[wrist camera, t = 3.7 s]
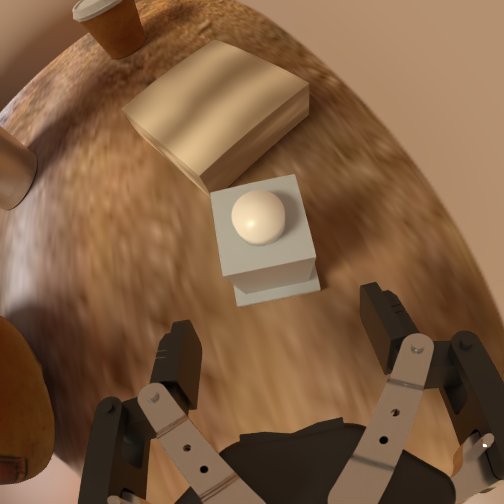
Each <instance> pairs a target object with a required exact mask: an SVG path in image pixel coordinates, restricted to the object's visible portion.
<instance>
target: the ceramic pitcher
mask: <svg viewBox="0 0 504 504" xmlns="http://www.w3.org/2000/svg"><path fill="white" fill-rule="evenodd" d="M42 374H43V367H42V365H41V363H40V362H39V361H38V359H37V358H36V356H35V354H34V352H33V351H32V349H31V348H30V346H29V344H28V343H27V341H26V340H25V338H24V337H23V336H22V334H21V333H20V332H19V331H18V330H17V329H16V328H15V327H14V326H13V325H12V324H11V323H10V322H9V321H8V320H7V319H5V318H3V317H1V316H0V485H5V484H14V483H19V482H23V481H26V480H28V479H31V478H33V477H35V476H36V475H38V474H39V473H40V472H42V471H43V470H44V469H45V468H46V467H47V465H48V463H49V461H50V460H51V457H52V454H53V450H54V445H55V427H54V425H55V423H54V422H55V420H54V413H53V410H52V406H51V401H50V397H49V393H48V390H47V387H46V384H45V382H44V378H43V375H42Z"/></svg>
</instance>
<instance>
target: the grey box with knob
mask: <svg viewBox="0 0 504 504" xmlns="http://www.w3.org/2000/svg"><path fill="white" fill-rule="evenodd" d="M210 195H211V202H212V209H213V216H214V223H215V229H216V236H217V242H218V249H219V255H220V262H221V268H222V274H223V277H224V278H226V279H227V280H228V281H229V282H231V283H232V284H233V285H234V291H235V296H236V302H237V307H240V308H241V307H246V306H251V305H256V304H262V303H267V302H272V301H277V300H281V299H286V298H291V297H296V296H300V295H305V294H310V293H314V292H319V291H320V290H321V289H320V284H319V280H318V275H317V271H316V267H315V260H316V253H315V249H314V245H313V241H312V237H311V233H310V229H309V225H308V221H307V217H306V214H305V210H304V206H303V202H302V199H301V195H300V191H299V188H298V184H297V181H296V177H295V174H292V175H287V176H282V177H277V178H273V179H268V180H263V181H259V182H254V183H249V184H245V185H241V186H236V187H232V188H228V189H223V190H219V191H215V192H211V193H210Z"/></svg>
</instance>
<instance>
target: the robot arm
mask: <svg viewBox="0 0 504 504" xmlns="http://www.w3.org/2000/svg"><path fill="white" fill-rule="evenodd" d="M36 168H37V157H36V155H35V154H34V153H33V152H31V151H30V150H29V149H28V148H26V147H25V146H24V145H23V144H22V143H20V142H19V141H18V140H17V139H16V138H14V137H13V136H12V135H11V134H9V133H8V132H7V131H6V130H5V129H3V128H2V127H1V126H0V208H2V209H4V210H10V209H12V208H14V207H15V206H16V205H17V204H18V203H19V202H20V201H21V200H22V199H23V197H24V196H25V194H26V193H27V191H28V190H29V188H30V186H31V184H32V181H33V179H34V176H35V173H36ZM360 316H361V320H362V323H363V325H364V327H365V330H366V332H367V334H368V336H369V339H370V341H371V343H372V346H373V348H374V350H375V353H376V355H377V357H378V360H379V362H380V364H381V367H382V369H383V372H384V374H385V375H387V374H390V373H391V376H390V378H389V379H388V380H387V382H386V385H385V387H384V390H383V392H382V394H381V397H380V399H379V401H378V404H377V406H376V408H375V411H374V413H373V415H372V417H371V419H370V421H369V423H368V426H367V427H366V426H362V425H359V424H353V423H344V422H343V418H342V417H340V418H336V419H332V420H327V421H323V422H318V423H315V424H313V425H311V426H309V427H306V428H304V429H302V430H299V431H297V432H294V433H274V432H259V433H250V434H241V435H240V441H239V442H236V443H234V444H232V445H230V446H228V447H226V448H225V449H224V450H222V451H221V452H220V453H218V452H217V451H216V450H215V449H214V447H213V446H212V445H211V444H210V443H209V442H208V441H207V439H206V438H205V437H204V436H203V435H202V433H201V432H200V431H199V430H198V429H197V427H196V426H195V425H194V424H193V422H192V421H191V420H190V419H189V417H188V411H189V410H194V409H197V400H198V390H199V380H200V370H201V361H202V346H201V342H200V340H199V338H198V336H197V334H196V332H195V330H194V327H193V325H192V323H191V321H190V320H183V321H177V322H173V325H172V329H171V333H168V334H165V335H164V337H163V338H162V339H161V341H160V343H159V347H158V352H157V355H156V359H155V363H154V367H153V371H152V375H151V379H150V383H149V384H148V385H146V386H145V387H143V388H142V389H141V391H140V392H139V394H138V397H136V398H133V399H130V400H127V401H124V402H121V401H120V400H119V399H118V398H117V397H107V398H105V399H103V400H102V401H101V402H100V403H99V404H98V406H97V409H96V413H95V417H94V421H93V425H92V429H91V434H90V438H89V443H88V448H87V452H86V457H85V463H84V468H83V473H82V479H81V485H80V492H79V499H78V504H150V503H149V502H148V501H146V489H147V474H148V462H149V451H150V440H151V439H153V438H157V439H158V440H159V442H160V443H161V445H162V446H163V448H164V449H165V451H166V452H167V454H168V455H169V457H170V458H171V460H172V461H173V463H174V464H175V465H176V467H177V468H178V470H179V471H180V472H181V474H182V475H183V476H184V478H185V479H186V480H187V482H188V483H189V484H190V487H189V488H188V489H187V490H186V492H185V493H184V494H183V495H182V496H181V497H180V498H179V499H178V500H177V501H176V502H175V503H174V504H457V503H459V502H461V501H463V500H465V499H467V498H469V497H471V496H473V495H475V494H477V493H486V492H489V491H491V490H492V489H494V488H496V487H497V486H499V485H500V484H502V483H504V382H503V380H502V379H501V377H500V375H499V373H498V371H497V369H496V367H495V366H494V364H493V362H492V360H491V359H490V357H489V355H488V353H487V352H486V350H485V348H484V347H483V345H482V343H481V342H480V340H479V338H478V337H477V336H476V335H475V334H474V333H472V332H469V331H460V332H457V333H456V334H455V335H454V336H453V338H452V340H451V341H432V340H431V339H430V338H429V337H428V336H426V335H424V334H420V333H419V331H418V329H417V328H416V326H415V324H414V323H413V321H412V319H411V318H410V316H409V315H408V313H407V311H405V308H404V306H403V305H402V304H401V302H400V300H399V299H398V297H397V296H396V295H395V294H393V293H392V292H391V291H389V290H386V291H383V292H382V290H381V289H380V287H379V285H378V284H377V283H376V282H373V283H369V284H365V285H361V286H360ZM430 388H439V390H440V393H441V395H442V398H443V400H444V403H445V405H446V408H447V410H448V413H449V416H450V418H451V421H452V424H453V427H454V429H455V432H456V435H457V438H458V441H459V444H460V447H459V448H458V450H457V451H456V452H455V454H454V458H453V465H454V470H453V474H452V476H451V477H449V476H448V475H447V474H445V473H444V472H442V471H440V470H439V469H437V468H435V467H433V466H431V465H430V464H428V463H426V462H424V461H423V460H421V459H419V458H417V457H416V456H414V455H412V454H411V453H409V452H407V451H406V450H404V449H403V448H404V445H405V443H406V440H407V438H408V435H409V432H410V430H411V427H412V424H413V422H414V419H415V416H416V413H417V410H418V407H419V404H420V401H421V398H422V394H423V391H424V389H430Z"/></svg>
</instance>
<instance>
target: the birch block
mask: <svg viewBox="0 0 504 504" xmlns="http://www.w3.org/2000/svg"><path fill="white" fill-rule="evenodd" d="M309 91H310V83H308V82H307V81H305V80H303V79H301V78H299V77H297V76H296V75H294V74H292V73H290V72H288V71H286V70H284V69H282V68H280V67H278V66H276V65H274V64H272V63H270V62H268V61H266V60H263V59H261V58H259V57H257V56H255V55H253V54H250V53H248V52H246V51H243V50H241V49H239V48H236V47H234V46H231V45H229V44H227V43H224V42H221V41H219V40H216V39H215V40H213V41H211V42H210V43H208V44H207V45H205V46H203V47H202V48H200V49H199V50H197V51H196V52H194V53H193V54H191V55H190V56H188V57H187V58H185V59H184V60H183V61H181V62H180V63H178V64H177V65H176V66H174V67H173V68H171V69H170V70H169V71H167V72H166V73H165V74H163V75H162V76H161V77H159V78H158V79H157V80H156V81H154V82H153V83H152V84H150V85H149V86H148V87H147V88H145V89H144V90H143V91H142V92H141V93H139V94H138V95H137V96H136V97H135V98H133V99H132V100H131V101H130V102H129V103H128V104H126V105H125V106H124V107H123V108H122V109H121V111H122V112H123V113H124V115H125V116H126V117H127V119H128V120H129V121H130V123H131V124H132V125H133V127H134V128H135V129H136V131H137V132H138V133H139V135H141V136H142V137H143V138H144V139H145V140H146V141H147V142H149V143H150V144H151V145H152V146H153V147H154V148H155V149H156V150H158V151H159V152H160V153H161V154H162V155H163V156H164V157H166V158H167V159H168V160H169V161H170V162H171V163H172V164H173V165H175V166H176V167H177V168H178V169H179V170H180V171H181V172H182V173H183V174H185V175H186V176H187V177H188V178H189V179H190V180H191V181H192V182H194V183H195V184H196V185H197V186H198V187H199V188H200V189H201V190H203V191H204V192H205V193H206V194H207V195H208V196H209V197H210V198H211V195H210V193H211V192H215V191H219V190H223V189H227V188H228V187H229V186H230V185H231V184H232V183H233V182H234V181H235V180H236V179H237V178H238V177H239V176H240V175H242V174H243V173H244V172H245V171H246V170H247V169H248V168H249V167H250V166H251V165H252V164H253V163H255V162H256V161H257V160H258V159H259V158H260V157H261V156H262V155H263V154H264V153H266V152H267V151H268V150H269V149H270V148H271V147H272V146H273V145H275V144H276V143H277V142H278V141H279V140H280V139H281V138H282V137H284V136H285V135H286V134H287V133H288V132H289V131H291V130H292V129H293V128H294V127H295V126H296V125H297V124H299V123H300V122H301V121H302V120H303V119H305V118H306V117H307V116H308V115H309Z"/></svg>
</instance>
